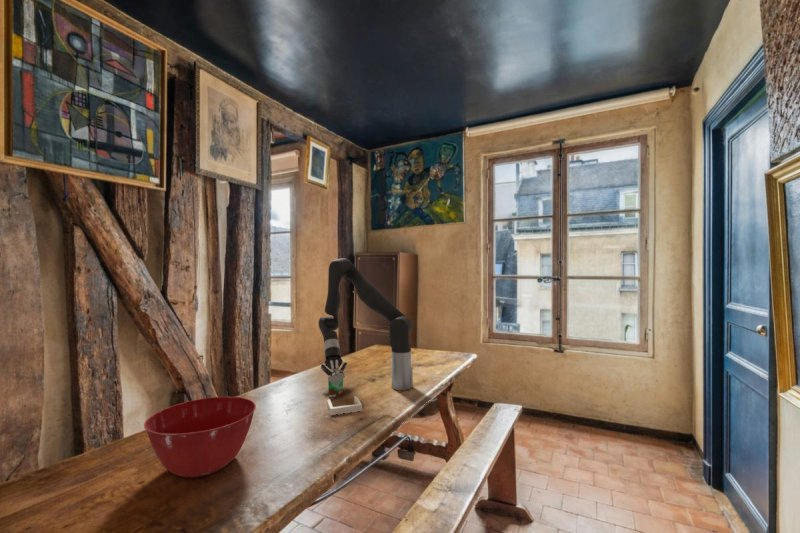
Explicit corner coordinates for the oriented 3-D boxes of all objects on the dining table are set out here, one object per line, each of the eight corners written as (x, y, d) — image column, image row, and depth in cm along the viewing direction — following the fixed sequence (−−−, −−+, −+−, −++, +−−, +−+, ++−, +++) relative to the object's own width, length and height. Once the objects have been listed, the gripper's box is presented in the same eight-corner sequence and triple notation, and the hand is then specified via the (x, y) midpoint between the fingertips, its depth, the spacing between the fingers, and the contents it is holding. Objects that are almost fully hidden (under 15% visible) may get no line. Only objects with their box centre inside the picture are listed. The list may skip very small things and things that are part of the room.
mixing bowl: (185, 441, 123) (185, 394, 123) (270, 441, 122) (270, 395, 122) (118, 494, 94) (117, 433, 94) (228, 495, 94) (227, 434, 93)
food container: (342, 400, 159) (342, 376, 159) (328, 400, 159) (327, 376, 159) (347, 390, 171) (346, 368, 171) (333, 390, 171) (333, 368, 171)
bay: (356, 401, 157) (356, 396, 157) (362, 411, 147) (362, 404, 147) (327, 405, 153) (327, 399, 153) (330, 415, 143) (330, 408, 143)
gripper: (319, 347, 178) (322, 379, 166) (346, 345, 182) (351, 376, 170) (318, 355, 183) (321, 388, 171) (344, 353, 187) (349, 384, 175)
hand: (336, 382), depth 171 cm, fingers closed
